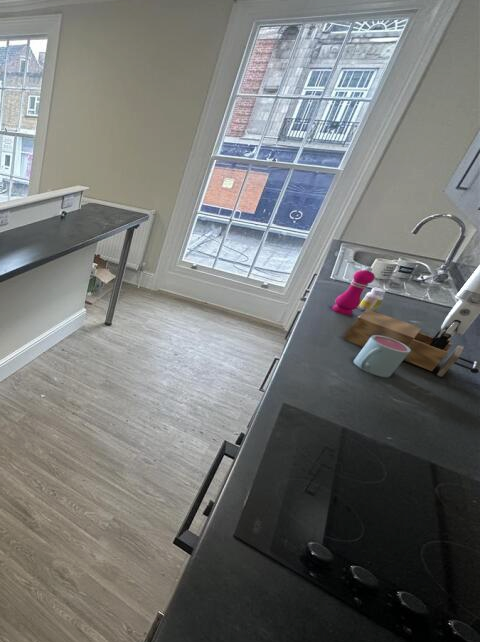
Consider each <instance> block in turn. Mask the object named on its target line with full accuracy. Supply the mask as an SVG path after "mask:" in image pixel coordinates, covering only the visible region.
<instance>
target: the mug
mask: <svg viewBox="0 0 480 642" xmlns="http://www.w3.org/2000/svg"><path fill="white" fill-rule="evenodd" d="M410 351H411V350H410V348H409V347H408V346H406V345H405V344H403V343H401V342H399V341H397V340H394V339H391V338H388V337H385V336H380V335H373V336H371V338H370V339H369V340H368V342H367V343H366V345H365V346H364V347H362V349H361V350H360V351H359V353H358V354H357V356H356V357H355V358H354V359H353V364H355V365H356V367H358V368H359V369H361V370H362V371H364V372H367V373H368V374H372V375H374V376H376V377H377V376H378V377H381V378H389V377H391V376H393V373H394V372H395V371H396V370H397V368H398V367H399V366H400V365H401V364H402V362H404V361H405V360H404V359H405V357H406V356H407V355H408V354H409V352H410Z"/></svg>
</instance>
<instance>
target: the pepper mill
mask: <svg viewBox="0 0 480 642" xmlns="http://www.w3.org/2000/svg"><path fill="white" fill-rule="evenodd" d="M372 271H373V268H372V267H370V266H369V267H366V268H365V269H362V270H361V269H360V270H357V271H356V272H354V274H353V276H352V278H353V279H352V280H351V281H350V286H349V287H348V288H347V290H345V291H344V292H343V293H342V294H340V295H339V296H337V297H336V298H335V300H334V302H335V304H334V305H333V306H332V308H331V309H332V310H333V311H334V312H336V313H338V314H341V315H346V316H351V315H352V314H353V311H354V310H356V309H357V308H358V306H359V305H360V303H361V295H362V293H363V291H364V290H365V289H367V287H368V286H369V284H371V283H373V282H374V281H375V277H376V275H375V274H374V272H372ZM358 309H359V308H358Z"/></svg>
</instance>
